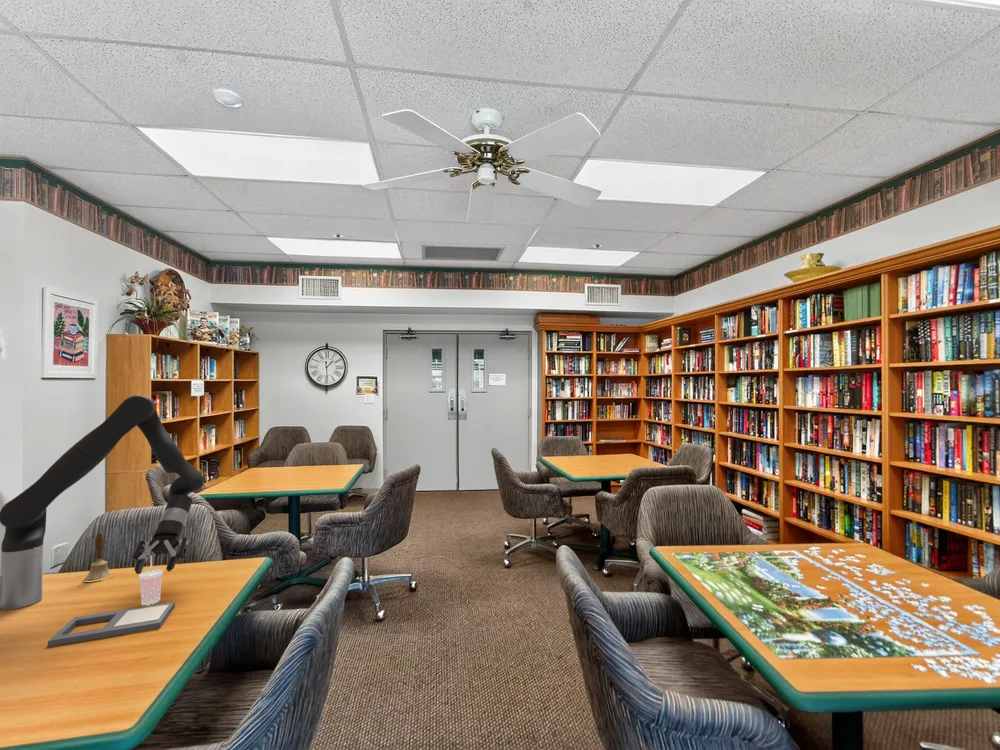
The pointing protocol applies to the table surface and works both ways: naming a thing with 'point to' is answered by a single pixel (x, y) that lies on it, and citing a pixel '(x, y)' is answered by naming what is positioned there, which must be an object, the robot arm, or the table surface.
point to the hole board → (114, 623)
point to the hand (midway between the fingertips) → (153, 571)
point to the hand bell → (98, 562)
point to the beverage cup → (150, 585)
